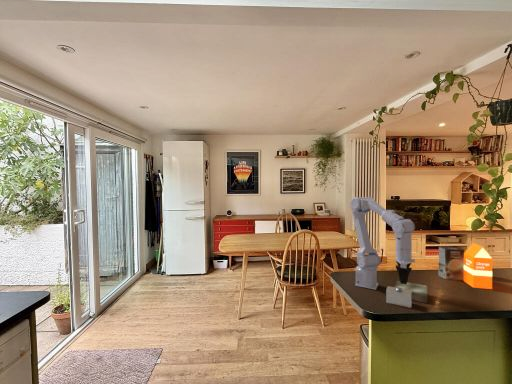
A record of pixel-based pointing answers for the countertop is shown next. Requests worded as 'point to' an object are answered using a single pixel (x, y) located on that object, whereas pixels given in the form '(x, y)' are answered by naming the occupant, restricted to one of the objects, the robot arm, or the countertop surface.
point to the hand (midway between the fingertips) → (403, 280)
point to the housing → (399, 296)
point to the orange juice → (478, 267)
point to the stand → (415, 291)
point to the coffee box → (451, 263)
